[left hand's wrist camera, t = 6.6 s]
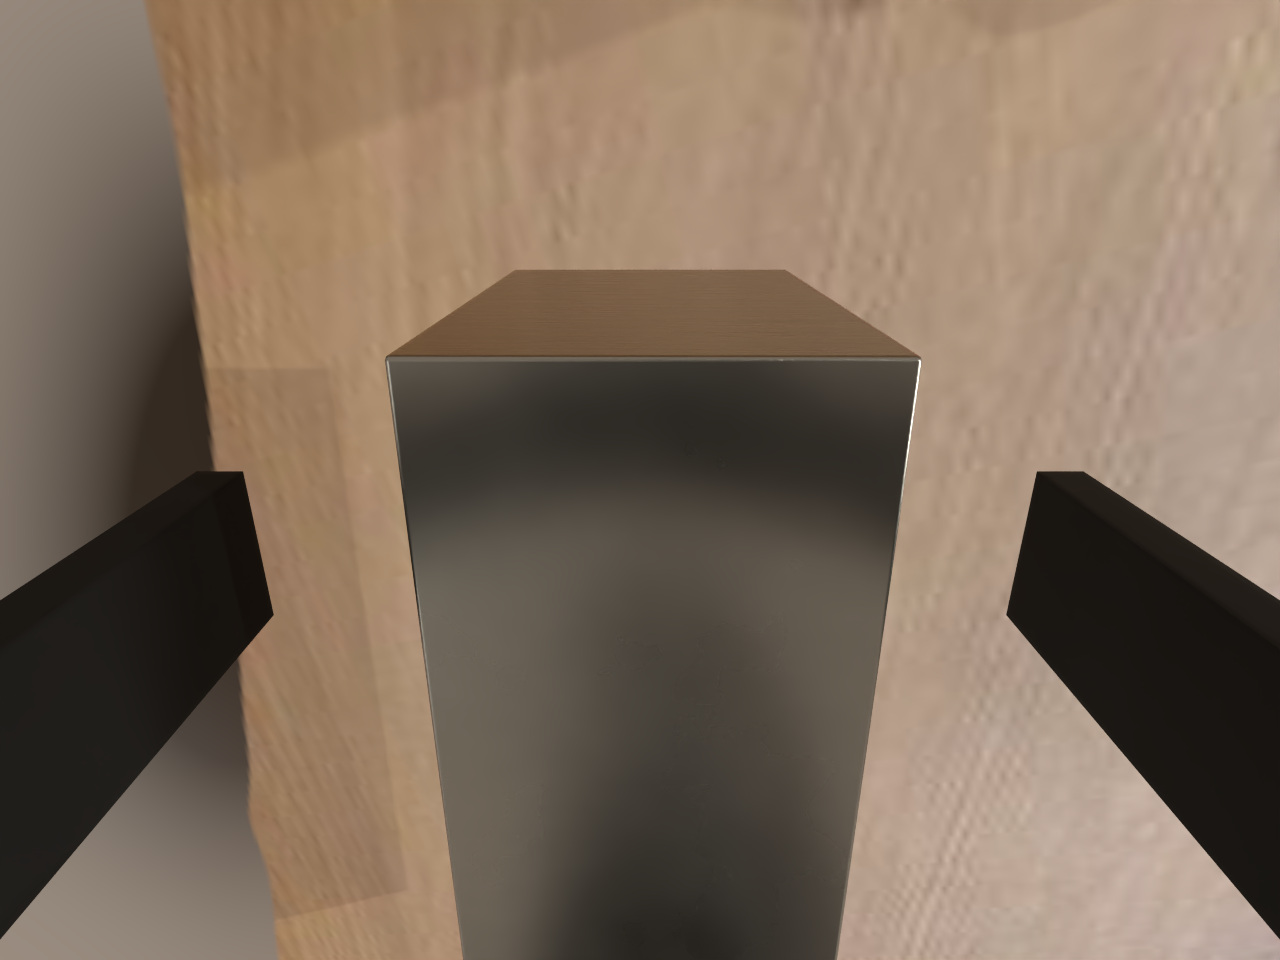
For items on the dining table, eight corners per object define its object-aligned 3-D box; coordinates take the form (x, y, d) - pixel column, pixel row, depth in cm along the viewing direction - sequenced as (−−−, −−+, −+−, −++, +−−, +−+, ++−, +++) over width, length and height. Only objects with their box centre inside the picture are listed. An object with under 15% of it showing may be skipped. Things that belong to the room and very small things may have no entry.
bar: (514, 269, 15) (382, 355, 7) (787, 269, 15) (925, 357, 7) (563, 1075, 24) (528, 1460, 17) (730, 1077, 24) (766, 1464, 17)
